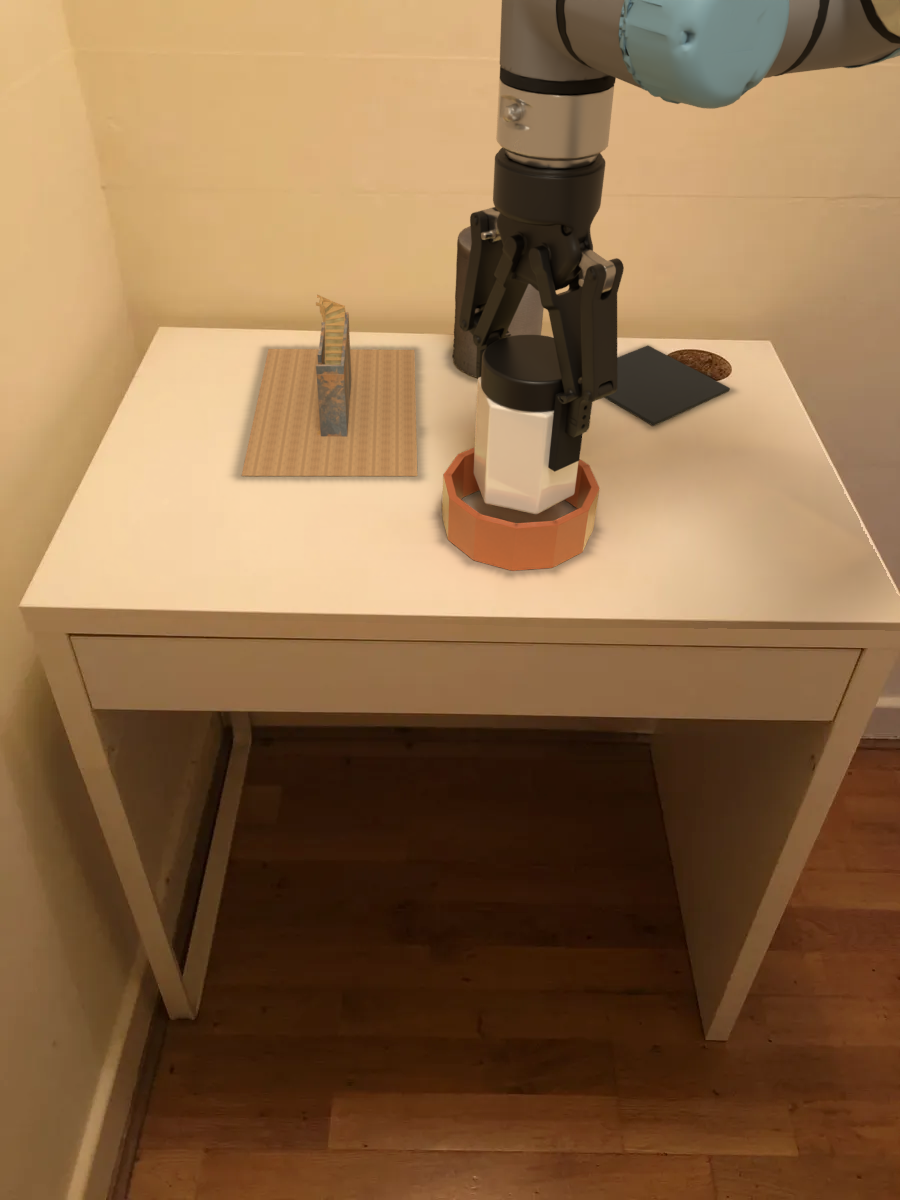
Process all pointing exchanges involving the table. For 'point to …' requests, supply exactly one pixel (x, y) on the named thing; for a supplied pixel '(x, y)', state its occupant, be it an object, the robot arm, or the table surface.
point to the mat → (660, 386)
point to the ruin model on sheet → (335, 409)
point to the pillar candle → (464, 347)
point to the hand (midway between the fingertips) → (526, 440)
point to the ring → (516, 540)
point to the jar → (519, 425)
